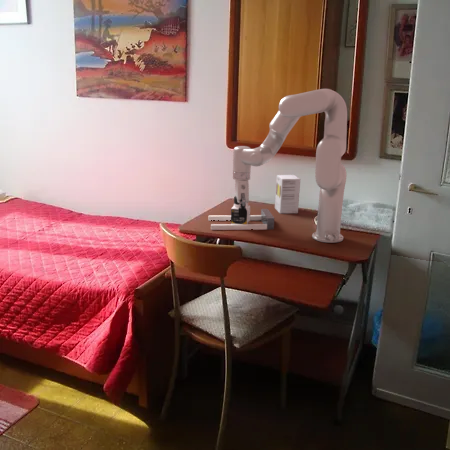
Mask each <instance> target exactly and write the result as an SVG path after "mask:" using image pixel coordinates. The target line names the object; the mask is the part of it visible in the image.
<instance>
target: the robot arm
mask: <svg viewBox="0 0 450 450" xmlns="http://www.w3.org/2000/svg"><path fill="white" fill-rule="evenodd" d="M323 112H324V114H325V117H324V118H325V119H324V129H323V130H324V131H323V138H322V139H321V140H320V141H319V142H318V144H317V146H316V149H315V150H316V151H315V152H316V153H315V168H314V169H315V170H314V173H315V174H314V179H315V182H316V185H317V186H318V187H319V188H320V189H319V194H318V196H319V197H318V206H317V217H316V231H315V232H313V233H312V235H311V238H312V239H314V240H315V241H317V242H321V243H329V244H330V243H332V244H334V243H336V244H337V243H340V242H342V241H343V240H344V236H343V235H342V233H341V223H342V215H343V213H342V212H343V204H344V194H345V187H346V182H347V170H346V169H347V168H346V167H345V166H344V164H342V157H343V155H344V154H345V153H346V151H347V133H348V131H347V130H348V125H347V124H348V108H347V103H346V101H345V100H344V98H343V96H342V95H341V94H340V93H338V92H337V91H334V90H332V89H331V88H319V89H314V90H311V91H310V90H309V91H305V92H300V93H296V94H289V95H285V96H284V97H282V98H281V100H280V101H279V104H278V110H277V113H276V114H275V116H274V117H273V118H272V119H271V121H270V122H269V126H268V127H269V132H268V134H267V136H266V138H265V139H264V141H262V143H261V144H260V145H259V146H258V147H255V148H251V147H250V146H247V145H237V146H234V148H233V155H232V156H233V160H232V161H233V162H232V164H233V165H232V179H233V180H234V182H235V183H234V197H235V196H236V198H237V202H238V203H239V212H238V217H246V202H247V203H248V204H249V202H250V194H249V193H250V190H249V189H250V185H249V180H251V173H252V172H251V169H252V168H251V167H261V166H264V165H265V164H267V163H269V162H270V161H272V160H273V158H274V157H275V155H277V153H278V151H279V150H280V149H281V147H282V146H283V143H284V142H285V140H286V139H287V136H288V135H289V133H290V132H291V131H292V129H293V128H294V126H295V125H296V123H297V122H298V121H299V119H300V118H301V117H304V116H309V115H315V114H320V113H323Z"/></svg>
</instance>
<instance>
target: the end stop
mask: <svg viewBox="0 0 450 450" xmlns="http://www.w3.org/2000/svg"><path fill="white" fill-rule="evenodd" d="M260 211H261V212H260V215H261V216H262V220H261V222H262V224H267V229H266V230H275V217H274V215H273V214H272V212H271V211H270V210H269V209H268V208H261V209H260Z"/></svg>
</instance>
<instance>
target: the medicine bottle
mask: <svg viewBox="0 0 450 450" xmlns="http://www.w3.org/2000/svg"><path fill="white" fill-rule="evenodd" d="M238 212H239V203H238V202H237V198H236V196H235V195H234V198H233V206H232V207H231V210H230V215H231V221H230V224H249V222H250V221H251V220H250V215H251V205H249V202H248V203H247V202H246V217H238Z"/></svg>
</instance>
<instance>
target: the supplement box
mask: <svg viewBox="0 0 450 450" xmlns="http://www.w3.org/2000/svg"><path fill="white" fill-rule="evenodd" d="M300 188H301V178H299V176H298V177H297V175H295V174H276V184H275V198H274V200H275V201H274V209H275V210H276V211H277V212H278V214H298V213H299V204H300V190H301V189H300Z"/></svg>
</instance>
